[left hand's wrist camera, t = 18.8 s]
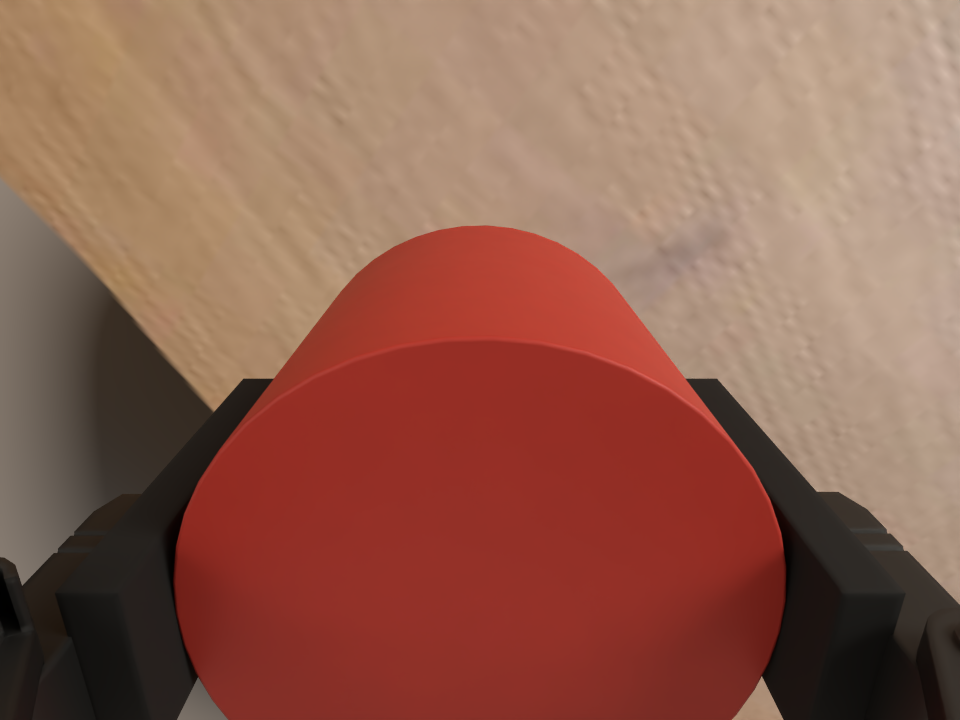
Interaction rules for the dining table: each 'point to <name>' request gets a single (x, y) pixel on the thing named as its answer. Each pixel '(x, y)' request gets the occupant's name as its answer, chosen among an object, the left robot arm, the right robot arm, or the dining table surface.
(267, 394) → the canister
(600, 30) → the dining table surface
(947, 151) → the dining table surface
